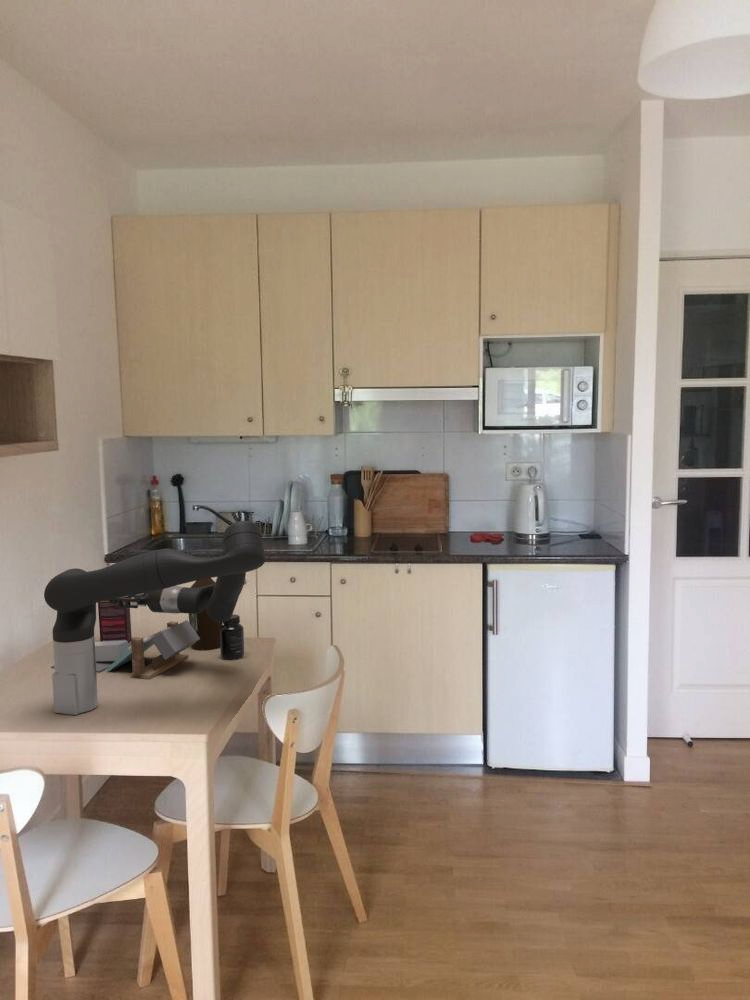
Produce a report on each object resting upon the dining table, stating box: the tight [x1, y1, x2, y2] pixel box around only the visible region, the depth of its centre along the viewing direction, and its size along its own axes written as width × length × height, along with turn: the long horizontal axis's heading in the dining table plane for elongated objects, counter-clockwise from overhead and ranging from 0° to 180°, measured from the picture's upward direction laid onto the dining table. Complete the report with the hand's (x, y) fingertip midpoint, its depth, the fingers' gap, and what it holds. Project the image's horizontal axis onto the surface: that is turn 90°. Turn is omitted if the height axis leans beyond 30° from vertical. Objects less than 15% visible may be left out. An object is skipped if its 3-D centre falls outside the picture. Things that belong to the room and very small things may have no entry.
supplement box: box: [97, 600, 133, 647], centre depth 237 cm, size 9×5×16 cm, turn 94°
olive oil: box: [187, 578, 224, 651], centre depth 233 cm, size 11×11×25 cm
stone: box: [95, 641, 130, 661], centre depth 220 cm, size 4×4×14 cm
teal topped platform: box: [105, 619, 200, 673], centre depth 215 cm, size 21×14×8 cm
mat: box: [50, 661, 115, 673], centre depth 221 cm, size 16×16×1 cm
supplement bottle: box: [219, 613, 245, 661], centre depth 223 cm, size 7×7×12 cm
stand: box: [129, 621, 189, 680], centre depth 214 cm, size 6×19×10 cm, turn 163°
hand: (118, 596), depth 216 cm, fingers open, 8 cm apart
